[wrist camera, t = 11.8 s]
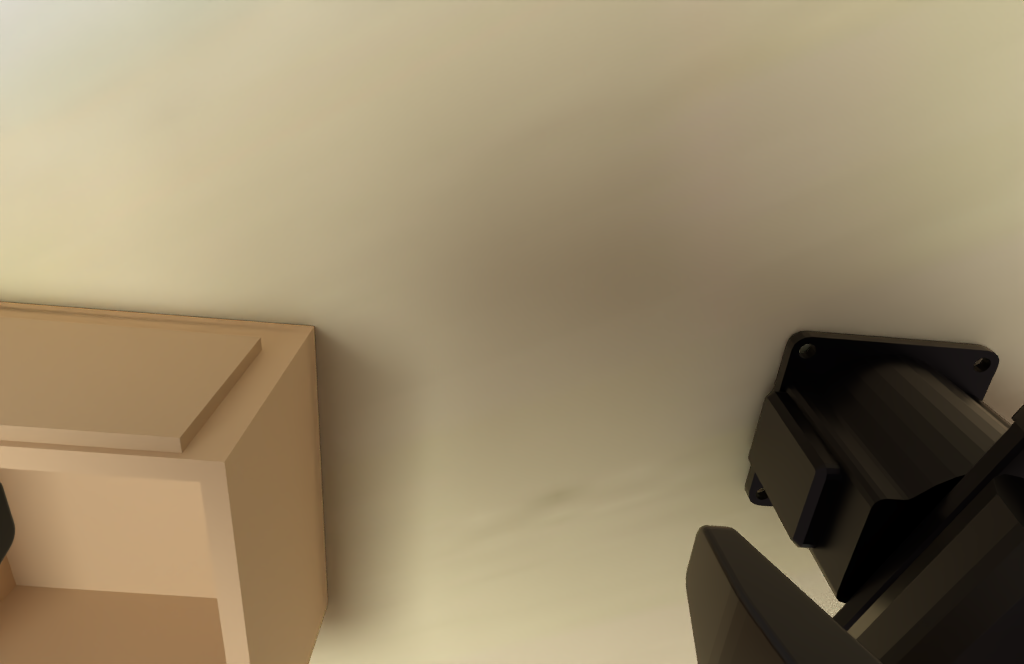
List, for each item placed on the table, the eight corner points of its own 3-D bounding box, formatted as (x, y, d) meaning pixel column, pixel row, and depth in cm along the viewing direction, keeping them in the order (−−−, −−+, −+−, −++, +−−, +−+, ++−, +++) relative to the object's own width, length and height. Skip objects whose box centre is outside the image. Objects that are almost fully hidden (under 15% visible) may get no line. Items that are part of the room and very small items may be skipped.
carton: (313, 314, 20) (222, 446, 14) (328, 611, 26) (267, 802, 20) (-83, 283, 20) (-360, 404, 14) (17, 590, 25) (-148, 779, 19)
